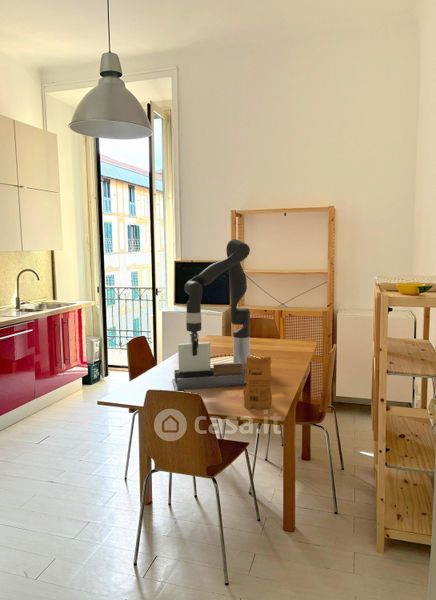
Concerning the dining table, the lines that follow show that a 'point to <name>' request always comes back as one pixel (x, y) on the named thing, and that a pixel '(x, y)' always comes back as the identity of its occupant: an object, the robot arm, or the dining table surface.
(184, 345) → the tall sheet
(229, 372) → the offcut bundle
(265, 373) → the coffee package
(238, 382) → the rack
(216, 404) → the dining table surface
